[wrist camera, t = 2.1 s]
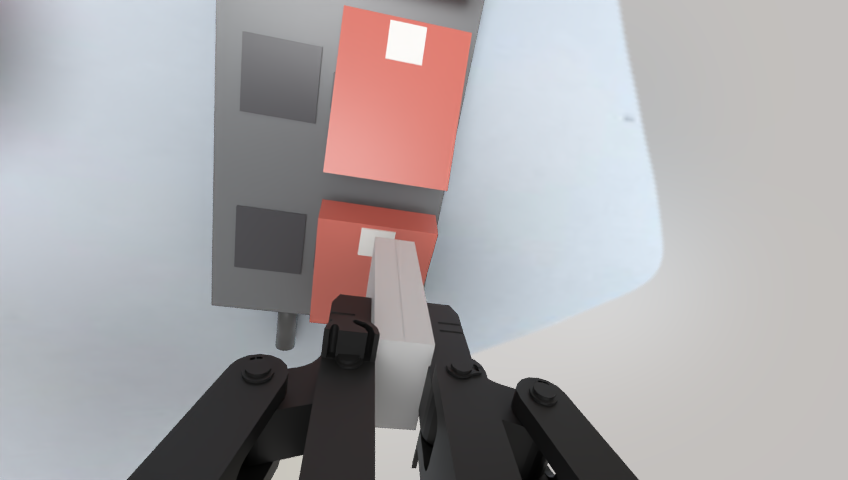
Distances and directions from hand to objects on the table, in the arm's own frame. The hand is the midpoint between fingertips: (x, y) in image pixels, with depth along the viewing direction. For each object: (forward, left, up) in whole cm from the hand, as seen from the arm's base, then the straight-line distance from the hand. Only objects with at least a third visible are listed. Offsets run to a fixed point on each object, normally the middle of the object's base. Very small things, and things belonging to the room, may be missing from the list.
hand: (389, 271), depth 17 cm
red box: (0, +6, -6) cm, 8 cm away
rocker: (0, -3, -6) cm, 7 cm away
